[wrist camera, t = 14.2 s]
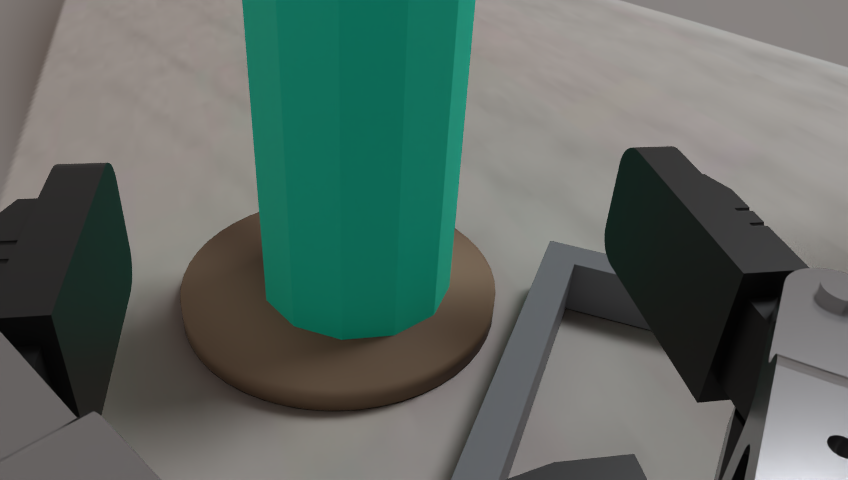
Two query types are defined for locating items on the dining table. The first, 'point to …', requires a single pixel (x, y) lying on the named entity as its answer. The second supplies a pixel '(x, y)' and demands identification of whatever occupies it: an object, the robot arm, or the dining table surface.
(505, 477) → the case
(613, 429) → the dining table surface
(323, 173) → the candle
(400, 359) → the coaster
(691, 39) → the dining table surface
